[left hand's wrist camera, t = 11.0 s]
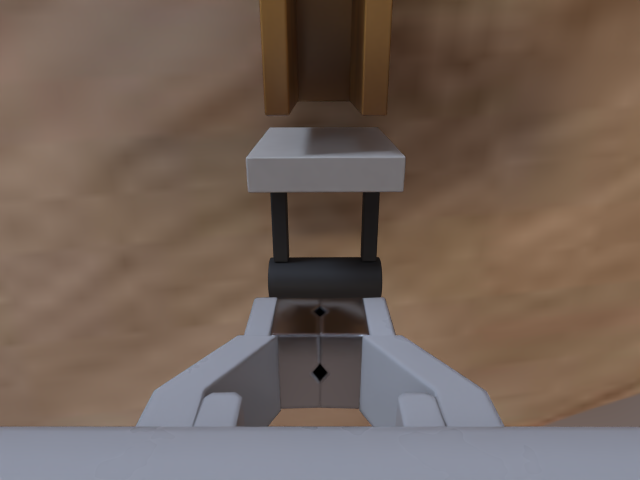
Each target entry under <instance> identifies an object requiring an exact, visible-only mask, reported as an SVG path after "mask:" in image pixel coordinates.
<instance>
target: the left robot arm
mask: <svg viewBox="0 0 640 480" xmlns="http://www.w3.org/2000/svg"><path fill="white" fill-rule="evenodd" d="M285 408H355V409H359V410H360V412H361V413H362V414H363V415H364V417H365V418H366V419H367V420H368V421H369V423H370V424H371V425H372V426H373V427H268V425H269V424H270V423H271V422H272V421H273V419H274V418H275V417H276V416H277V415H278V413H279V412H280V411H281V409H285ZM0 480H640V427H505V426H504V424H503V423H502V421H501V419H500V417H499V415H498V413H497V411H496V409H495V407H494V405H493V403H492V401H491V399H490V397H489V395H488V393H487V391H485V390H484V389H482V388H481V387H479V386H478V385H476V384H475V383H473V382H472V381H470V380H469V379H467V378H466V377H464V376H463V375H461V374H460V373H458V372H457V371H455V370H454V369H452V368H451V367H449V366H448V365H446V364H444V363H443V362H441V361H440V360H438V359H437V358H435V357H434V356H432V355H431V354H429V353H428V352H426V351H425V350H423V349H422V348H420V347H419V346H417V345H416V344H414V343H413V342H411V341H410V340H408V339H407V338H405V337H404V336H402V335H396V334H395V330H394V327H393V323H392V320H391V317H390V313H389V310H388V306H387V303H386V299H385V298H384V297H376V298H328V299H320V298H278V299H277V297H266V298H255V300H254V302H253V306H252V309H251V313H250V316H249V320H248V323H247V327H246V330H245V334H244V335H238V336H236V337H235V338H233V339H232V340H230V341H229V342H227V343H226V344H224V345H223V346H221V347H220V348H218V349H217V350H215V351H214V352H212V353H211V354H209V355H207V356H206V357H204V358H203V359H201V360H200V361H198V362H197V363H195V364H194V365H192V366H191V367H189V368H188V369H186V370H185V371H183V372H182V373H180V374H179V375H177V376H176V377H174V378H173V379H171V380H169V381H168V382H166V383H165V384H163V385H162V386H160V387H159V388H157V389H156V390H154V392H153V394H152V396H151V398H150V399H149V401H148V403H147V405H146V407H145V409H144V411H143V413H142V415H141V417H140V419H139V421H138V423H137V425H136V426H135V427H42V426H40V427H0Z"/></svg>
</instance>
